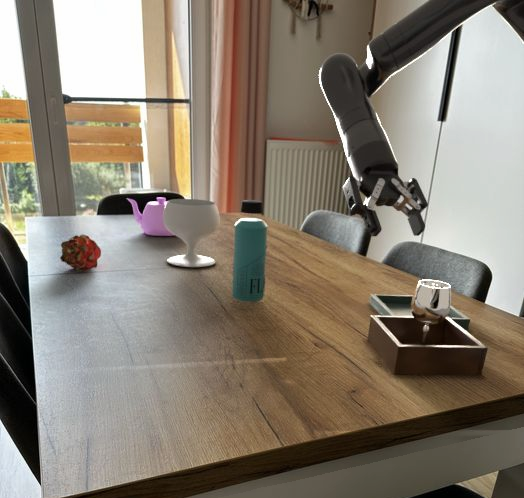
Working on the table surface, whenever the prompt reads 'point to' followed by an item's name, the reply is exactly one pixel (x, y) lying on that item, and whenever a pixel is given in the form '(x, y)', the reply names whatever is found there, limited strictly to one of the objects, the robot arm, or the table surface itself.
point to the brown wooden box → (425, 347)
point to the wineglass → (430, 303)
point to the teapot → (152, 217)
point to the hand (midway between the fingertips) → (398, 233)
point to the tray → (409, 308)
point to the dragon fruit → (80, 252)
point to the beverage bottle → (249, 254)
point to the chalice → (191, 227)
